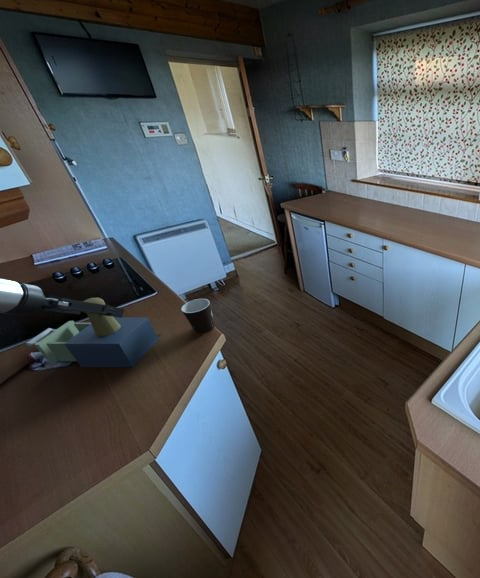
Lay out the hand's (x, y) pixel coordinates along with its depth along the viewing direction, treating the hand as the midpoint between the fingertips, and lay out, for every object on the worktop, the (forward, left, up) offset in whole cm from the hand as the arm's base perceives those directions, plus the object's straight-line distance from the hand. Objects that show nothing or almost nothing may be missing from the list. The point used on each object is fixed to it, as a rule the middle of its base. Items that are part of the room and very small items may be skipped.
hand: (101, 311), depth 88 cm
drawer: (-13, -1, -15) cm, 20 cm away
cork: (0, -1, -6) cm, 6 cm away
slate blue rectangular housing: (0, -1, -16) cm, 16 cm away
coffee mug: (+20, +13, -16) cm, 29 cm away
